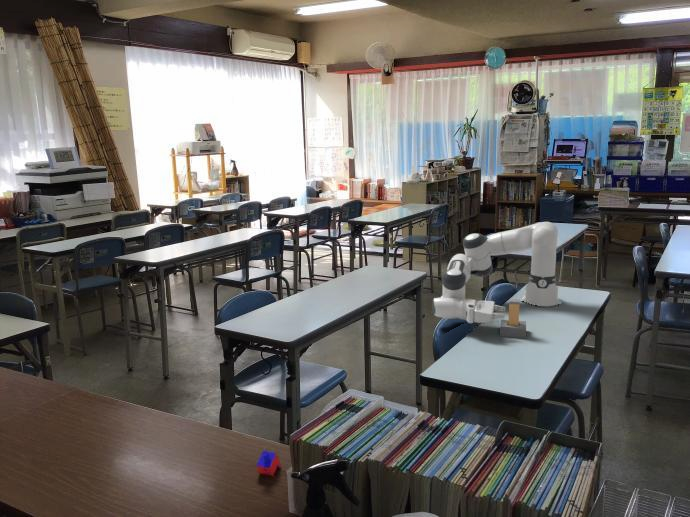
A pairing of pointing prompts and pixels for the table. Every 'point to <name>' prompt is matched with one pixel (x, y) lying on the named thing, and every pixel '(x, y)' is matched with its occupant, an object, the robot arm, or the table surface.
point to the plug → (514, 312)
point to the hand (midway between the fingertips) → (505, 312)
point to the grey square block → (513, 329)
